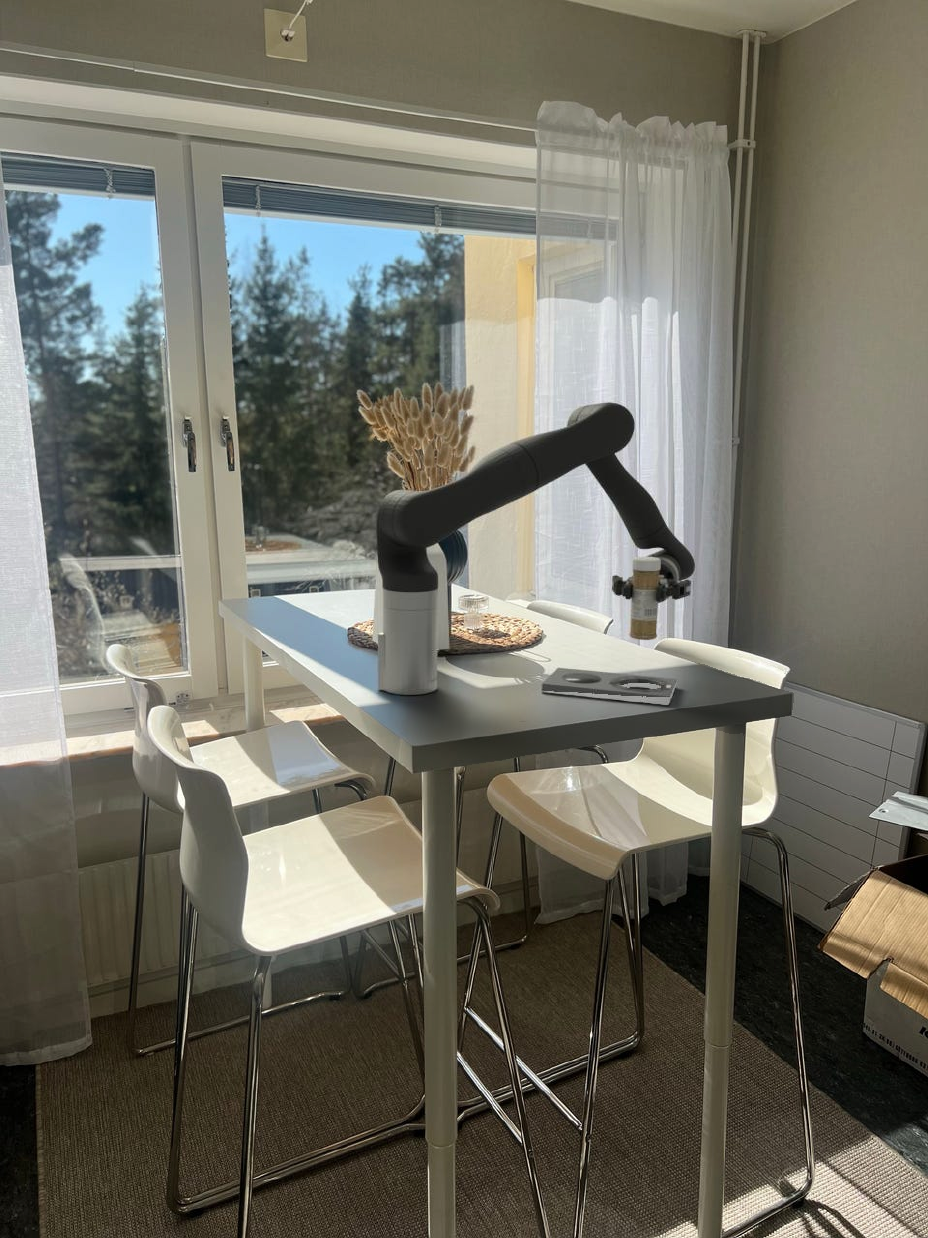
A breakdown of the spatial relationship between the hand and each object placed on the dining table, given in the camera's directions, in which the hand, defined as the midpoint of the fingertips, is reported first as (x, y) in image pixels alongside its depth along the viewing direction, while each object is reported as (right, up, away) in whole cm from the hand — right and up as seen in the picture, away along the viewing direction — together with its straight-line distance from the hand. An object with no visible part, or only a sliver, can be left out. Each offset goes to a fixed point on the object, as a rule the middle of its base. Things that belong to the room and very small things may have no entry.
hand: (643, 594), depth 148 cm
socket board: (-4, -16, +7) cm, 18 cm away
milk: (-40, -10, +38) cm, 56 cm away
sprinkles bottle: (+1, -7, +4) cm, 8 cm away
